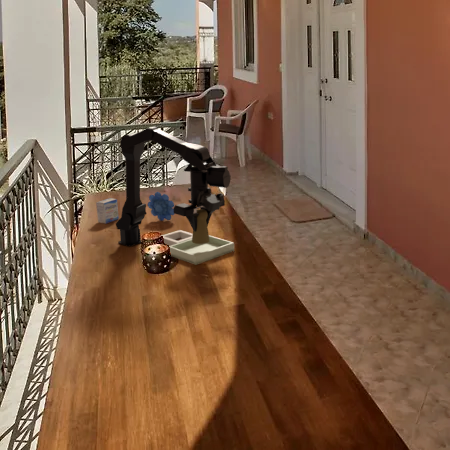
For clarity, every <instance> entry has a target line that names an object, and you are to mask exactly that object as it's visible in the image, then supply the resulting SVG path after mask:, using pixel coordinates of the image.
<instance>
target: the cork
mask: <svg viewBox="0 0 450 450" xmlns="http://www.w3.org/2000/svg"><path fill="white" fill-rule="evenodd" d="M197 213H199V215H198V217H197V230H196V232H195V231H193V230H192V234H193V236H192V242H193V243H195V244H205V243H208V242H209V235H210V234H209V229H208V226H207V222H206V219H207V217H208V213H207V211H206V210H203V209H200V208H199V209H197Z"/></svg>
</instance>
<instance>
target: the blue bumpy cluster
mask: <svg viewBox="0 0 450 450" xmlns="http://www.w3.org/2000/svg"><path fill="white" fill-rule="evenodd" d="M169 199H170V198H169V195H168V194H166V193H163V194H162V193H161V192H159V191H155V192H154V194H150V195H149V196H148V200H149V201H147V207H148V208H149V209H150V214H151V215H152V216H154V217H157V219H158V220H159V221H162V222H163V221H164V220H166V221H170V220H171V219H172V216H175V214H174V209H173V208H174V206H175V203H174V201H173V200H169Z"/></svg>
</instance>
